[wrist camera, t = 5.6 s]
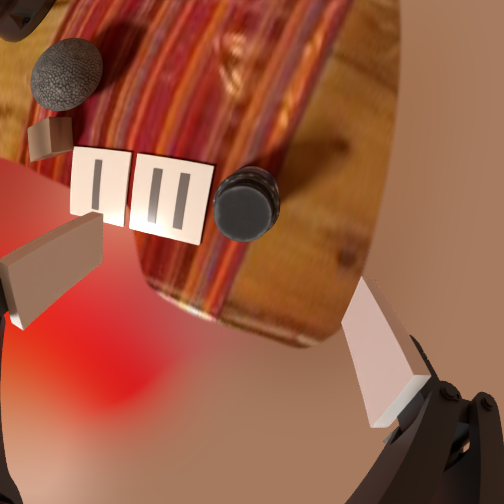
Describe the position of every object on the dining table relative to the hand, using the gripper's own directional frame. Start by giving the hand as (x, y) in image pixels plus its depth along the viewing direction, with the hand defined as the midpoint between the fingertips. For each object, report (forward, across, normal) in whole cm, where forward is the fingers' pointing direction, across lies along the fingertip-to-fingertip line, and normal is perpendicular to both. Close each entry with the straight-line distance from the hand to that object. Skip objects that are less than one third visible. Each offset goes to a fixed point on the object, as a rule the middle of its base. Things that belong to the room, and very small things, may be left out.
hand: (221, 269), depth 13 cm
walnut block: (+20, -30, +4) cm, 36 cm away
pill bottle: (+21, 0, 0) cm, 21 cm away
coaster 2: (+21, -10, -3) cm, 23 cm away
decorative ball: (+21, -26, +12) cm, 36 cm away
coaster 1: (+20, -21, -3) cm, 30 cm away
